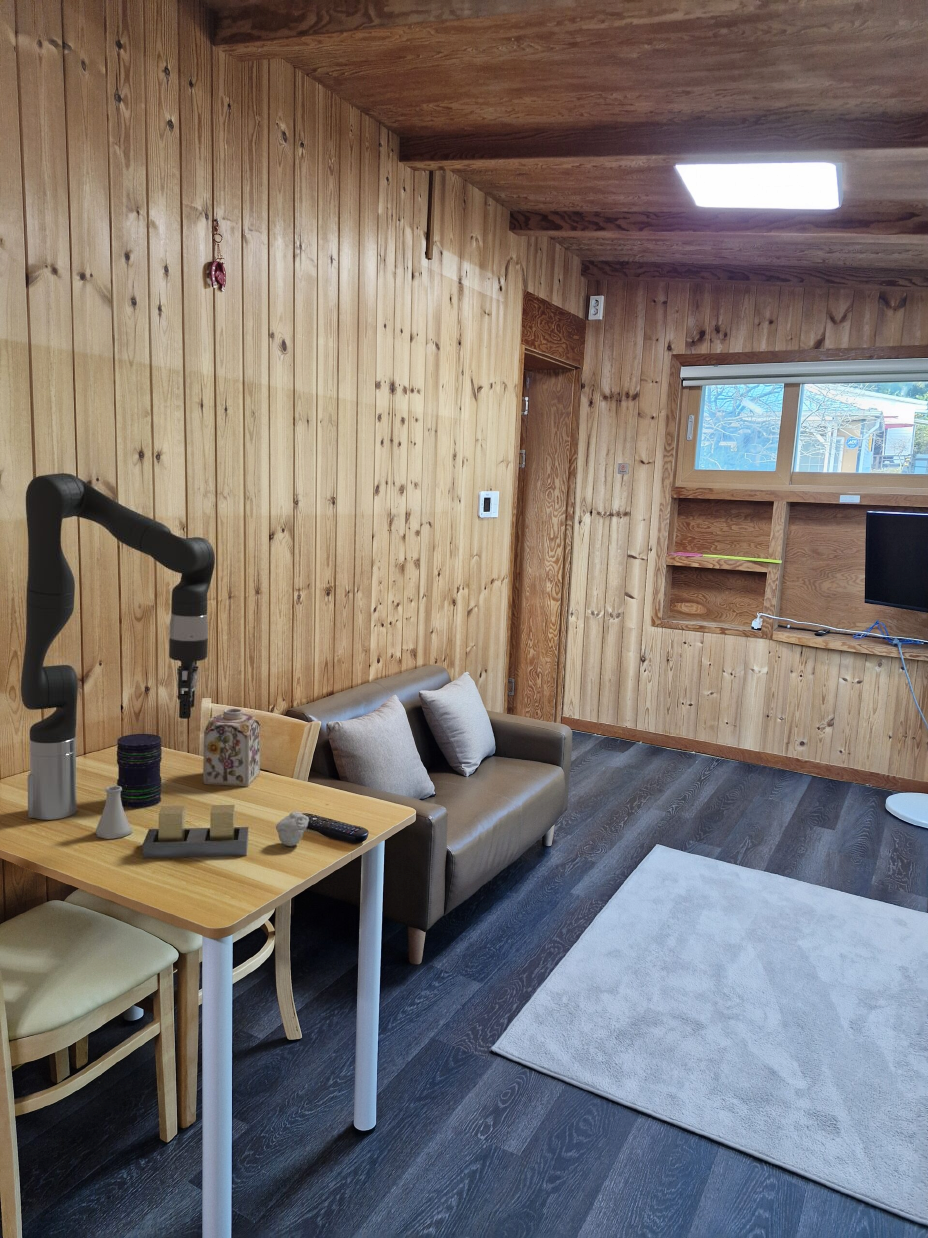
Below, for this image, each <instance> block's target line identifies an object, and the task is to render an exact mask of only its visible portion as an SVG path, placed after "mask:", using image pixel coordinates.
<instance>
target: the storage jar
mask: <svg viewBox="0 0 928 1238" xmlns="http://www.w3.org/2000/svg"><path fill="white" fill-rule="evenodd" d="M116 742H117V743H116V745H117V746H116V749H117V750H116V764H117V765H118V771H117V772H118V776H117V777H118V778H117V780H116V786H121V788H122V791H121V792H120V797H121V803H122V807H123V809H124V808H125V809H145V808H151V807H154V806H156V805H158V804H160V803H161V801H162V796H161V795H162V788H163V787H162V782H163V781H162V780H163V779H162V777H161V763H162V758H163V757H162V754H163V752H162V750H163V749H162V737H161V735H158V734H157V735H156V734H151V733H135V734H134V733H132V734H126V735H123V736H120V737H118V738H117V741H116Z"/></svg>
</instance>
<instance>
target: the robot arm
mask: <svg viewBox="0 0 928 1238" xmlns="http://www.w3.org/2000/svg"><path fill="white" fill-rule="evenodd" d="M25 515H26V528H27V529H26V530H27V540H28V541H27V543H28V545H27V548H28V550H27V582H26V602H25V603H26V604H25V605H26V606H25V607H26V609H25V611H26V613H25V614H26V616H25V618H26V619H25V620H26V623H25V624H26V625H25V643H24V652H23V654H24V655H23V660H22V661H23V662H22V669H21V680H20V698H21V701H22V704H23V706H24V708H25V709H27V710H31V711H32V710H34V711H35V710H37V711H39V710H46V709H55V710H54V711H53V712H52V713H51V714H50V715H48V716H47V717H46V718H43V719H42V720H40V721H38V722H35V723H34V724H32V725H31V726H30V728H29V765H30V766H29V770H30V771H29V773H28V774H27V777H26V778H27V779H26V781H27V818H30V819H32V818H34V819H37V820H46V821H47V820H50V821H51V820H61V819H64V818H67V817H70V816H73V815H75V813H76V812H77V750H76V749H77V747H76V746H77V739H76V738H77V737H76V736H77V734H76V733H77V732H76V731H77V730H76V729H77V720H78V719H77V716H78V715H77V711H78V695H79V694H78V693H79V692H78V687H79V685H78V684H79V683H78V682H79V681H78V675H77V672H76V670H75V669H74V667H73V666H72V665H69V664H57V665H45V666H44V662H45V659H46V655H47V653H48V650H49V649H50V647H51V645H52V644H53V642H54V641H55V639H56V638H57V636H58V635H59V634H60V633H61V631H62V630H63V628H64V627H65V626H66V624H67V623H68V622H69V620H70V618H71V616H72V614H73V613H74V607H75V596H76V595H75V592H76V583H75V582H76V581H75V576H74V574H73V571H72V568H71V566H70V565H69V563H68V560H67V559H66V557H65V554H64V551H63V548H62V524H63V519H68V518H73V517H77V518H80V519H85V520H87V521H90V522H91V521H92V522H94V523H96V524H98V525H99V526H101V527H103V528H104V529H106V530H107V532H109V533H110V534H111V536H113V537H114V538H115V539H116V540H117V541H119V542H120V543H121V544H124V545H125V546H127V547H129V548H131V549H134V550H136V551H138V552H140V553H143V555H147V556H150V557H151V558H152V559H153V560H155V561H156V562H157V563H159V564H160V565H162V566H164V567H165V568H166V569H168V570H170V571H172V572H175V573H177V574H181V576H180V581H179V583H178V584H176V585H174V587H173V588H172V591H171V597H170V598H171V599H170V600H171V603H170V604H171V606H170V621H169V635H168V636H169V639H168V640H169V641H168V657H169V659H171V660H173V661H179V662H180V665H178V668H177V669H176V675H177V681H176V682H177V683H176V688H177V695H176V698H177V701H179V705H178V707H179V708H178V718H179V719H181V720H182V719H184V720H185V719H186V720H187V719H190V718H191V715H192V708H194V707H195V701H196V700H195V697H196V695H195V694H196V688H197V683H198V680H199V679H198V677H199V676H198V675H199V670H200V669H199V665H198V662H200V661H204V660H206V659H207V658H208V641H209V622H208V593H209V590H210V586H211V583H212V578H213V573H214V569H215V563H216V562H215V561H216V558H215V557H216V555H215V552H214V548H213V545H212V544H211V542H209V540H207V539H206V538H204V537H200V536H196V537H195V536H194V537H181V536H178V535H176V534H174V533H173V532H172V531H171V529H170V528H169V527H168V526H167V525H165V524H163V523H161V522H159V521H157V520H154V519H153V518H150V517H149V516H146V515H143V514H141V513H139V512H137V511H134V510H133V509H131V508H128V507H126V506H124V505H122V504H121V503H119V502H117V501H115V500H114V499H112V498H111V497H109V496H107V495H106V494H104V493H103V492H100V491H99V490H98V489H96V488H95V487H93V486H92V485H90V484H89V483H87V482H86V481H85V480H84V479H81V478H80V477H78V476H76V475H74V474H71V473H65V472H63V473H60V472H59V473H51V474H45V475H42V474H41V475H38V476H35V477H34V478H32V479H31V480H30V482H29V483H28V486H27V487H26V491H25Z"/></svg>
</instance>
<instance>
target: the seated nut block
mask: <svg viewBox="0 0 928 1238" xmlns="http://www.w3.org/2000/svg"><path fill="white" fill-rule="evenodd" d="M185 806H186V805H161V807H160V809H159V811H158V829H159V842H184V840H185V823H186V822H185V820H186V819H185V816H186V815H185V812H186V811H185V810H186V809H185V808H186V807H185Z"/></svg>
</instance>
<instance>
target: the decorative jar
mask: <svg viewBox="0 0 928 1238" xmlns="http://www.w3.org/2000/svg"><path fill="white" fill-rule="evenodd" d="M202 759H203V761H202V762H203V766H202V773H203V774H202V777H203V778H202V780H203V784H204V785H211V786H213V785H214V786H227V787H228V786H230V787H245V788H247V787H249V786H250V785H251V784H252V783H253V781H254V780H256V778H257V777H258V775H259V774H260V773H261V723H260V722H259V720H258V719H257V718H256V717H255V716H253V715H251V714H248V713H243V710H242V709H239V708H232V707H231V708H226V709H225V708H224V710H223V713H222V714H221V713H220V714H217V715H214V716H212V717H211V718H209V720H208V722H207V725H206V726H205V729H204V731H203V758H202Z"/></svg>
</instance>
